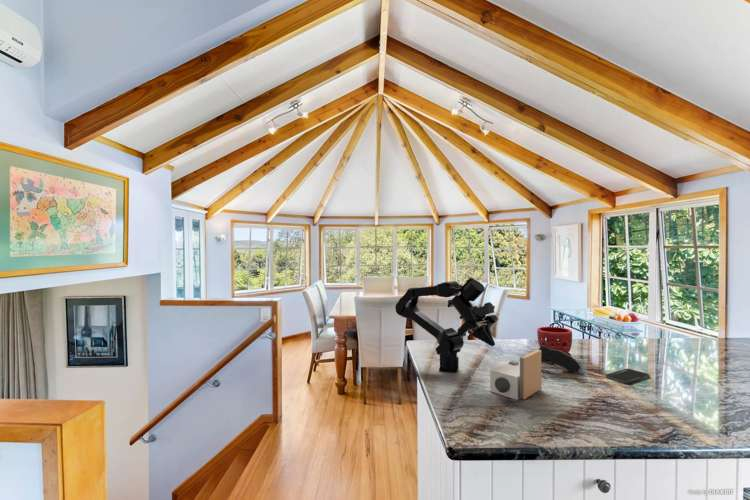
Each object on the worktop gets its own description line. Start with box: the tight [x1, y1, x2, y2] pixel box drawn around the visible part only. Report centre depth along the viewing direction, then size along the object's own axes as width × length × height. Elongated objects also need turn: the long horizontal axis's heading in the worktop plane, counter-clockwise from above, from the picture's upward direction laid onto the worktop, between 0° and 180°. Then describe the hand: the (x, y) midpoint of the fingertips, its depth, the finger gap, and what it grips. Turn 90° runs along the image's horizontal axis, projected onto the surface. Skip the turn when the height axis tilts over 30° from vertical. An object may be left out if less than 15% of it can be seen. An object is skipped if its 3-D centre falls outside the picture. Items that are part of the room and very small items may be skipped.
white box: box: [489, 360, 520, 400], centre depth 117 cm, size 9×15×8 cm, turn 133°
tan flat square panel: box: [519, 349, 542, 400], centre depth 113 cm, size 2×12×12 cm, turn 133°
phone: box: [605, 368, 651, 385], centre depth 127 cm, size 8×1×15 cm
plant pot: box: [536, 326, 573, 356], centre depth 150 cm, size 13×13×12 cm
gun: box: [538, 345, 584, 374], centre depth 134 cm, size 3×16×10 cm, turn 78°
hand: (493, 345), depth 122 cm, fingers closed
